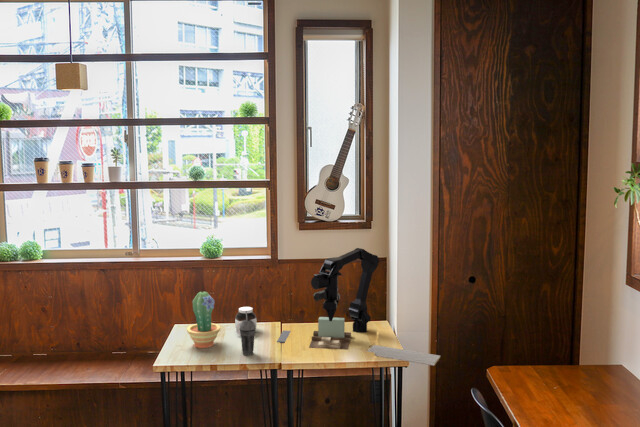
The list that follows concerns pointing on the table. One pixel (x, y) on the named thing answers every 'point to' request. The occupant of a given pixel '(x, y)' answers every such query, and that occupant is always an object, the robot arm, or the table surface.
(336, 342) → the offcut stack
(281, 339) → the rubber mat
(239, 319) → the spread jar
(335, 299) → the robot arm
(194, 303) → the potted cactus
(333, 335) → the tall board
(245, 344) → the beverage cup
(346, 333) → the board rack
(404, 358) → the baseboard molding
